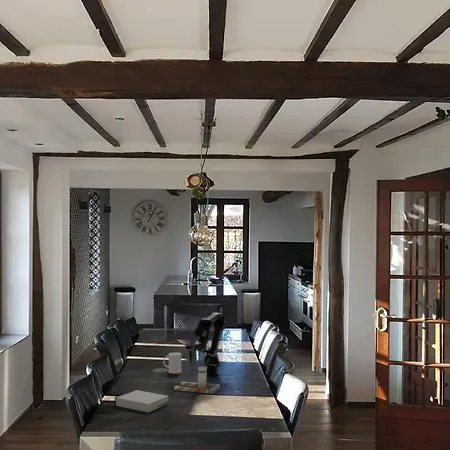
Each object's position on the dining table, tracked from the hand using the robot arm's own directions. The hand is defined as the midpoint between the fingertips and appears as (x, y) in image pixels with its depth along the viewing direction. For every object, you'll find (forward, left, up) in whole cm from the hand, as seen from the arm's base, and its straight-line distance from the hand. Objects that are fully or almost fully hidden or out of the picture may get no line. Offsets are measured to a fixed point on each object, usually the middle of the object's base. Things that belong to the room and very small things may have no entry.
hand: (197, 364), depth 359 cm
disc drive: (+50, +15, -12) cm, 53 cm away
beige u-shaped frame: (+9, +11, -11) cm, 18 cm away
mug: (-4, -31, -11) cm, 33 cm away
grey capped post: (+8, +14, -11) cm, 19 cm away
